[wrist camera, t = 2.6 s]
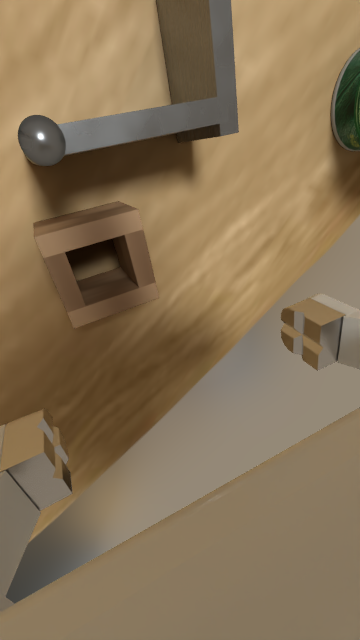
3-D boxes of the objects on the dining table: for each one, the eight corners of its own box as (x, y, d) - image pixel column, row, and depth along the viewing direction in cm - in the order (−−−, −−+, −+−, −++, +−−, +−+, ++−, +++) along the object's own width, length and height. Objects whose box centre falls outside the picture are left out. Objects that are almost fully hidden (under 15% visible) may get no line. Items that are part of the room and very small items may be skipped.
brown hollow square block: (66, 300, 23) (74, 328, 19) (33, 222, 20) (34, 237, 16) (138, 276, 25) (159, 297, 21) (118, 201, 22) (138, 209, 18)
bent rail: (32, 173, 19) (32, 177, 13) (-40, -9, 15) (-93, -138, 8) (192, 139, 22) (255, 129, 16) (171, -19, 18) (247, -119, 11)
